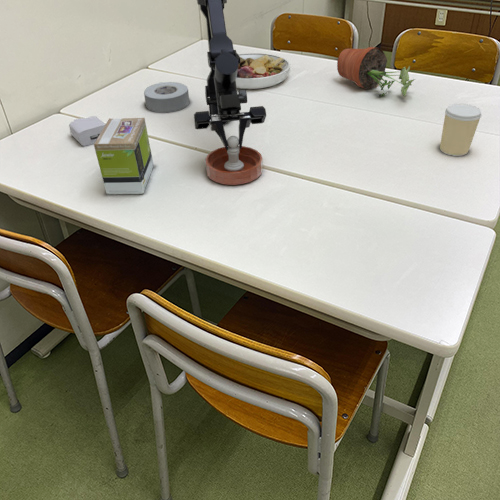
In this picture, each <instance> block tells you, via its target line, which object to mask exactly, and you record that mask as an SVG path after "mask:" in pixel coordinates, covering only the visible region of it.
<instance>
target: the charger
mask: <svg viewBox="0 0 500 500" xmlns="http://www.w3.org/2000/svg"><path fill="white" fill-rule="evenodd" d="M105 124H106V123H105V122H104V121H102V119H100V118H99V117H98V116H95V115H92V116H89V117H80V118H76V119H74V120H73V121H71V122H70V123H69V124H68V127H69V130H70V131H69V132H70V134H71V136H72V137H73V138H74V139H75V140H76V141H77V142H78V143H79V144H80V145H81V146H84V147H87V146H91V145H94V143H95V142H96V140H97V138H98V136H99V135H100V133H101V131H102V130H103V128H104V126H105Z"/></svg>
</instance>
